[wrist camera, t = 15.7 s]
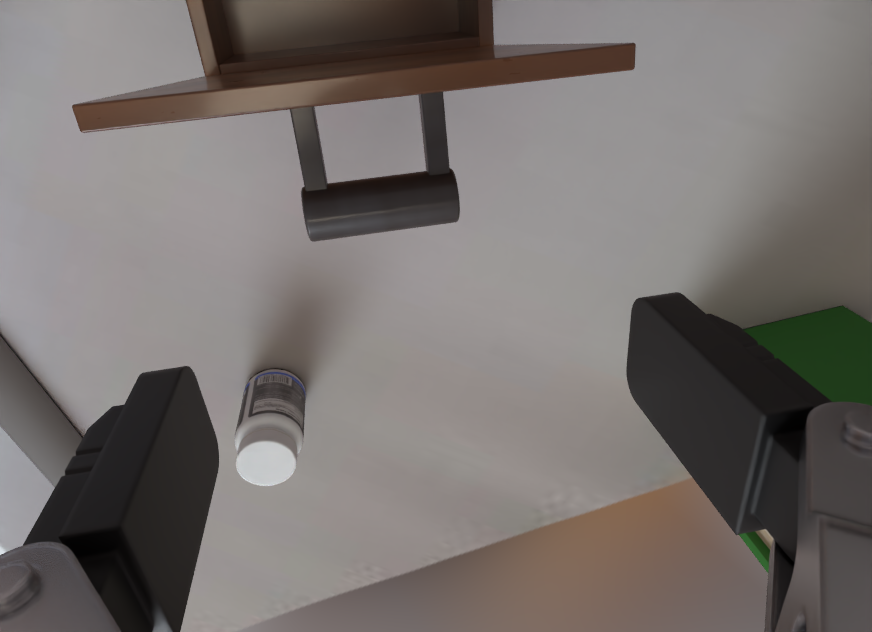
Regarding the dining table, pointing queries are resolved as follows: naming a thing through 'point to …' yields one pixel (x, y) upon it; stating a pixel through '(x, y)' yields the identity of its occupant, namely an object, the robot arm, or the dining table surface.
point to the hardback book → (819, 368)
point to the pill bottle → (270, 427)
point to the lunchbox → (331, 30)
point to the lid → (350, 82)
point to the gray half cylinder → (34, 419)
